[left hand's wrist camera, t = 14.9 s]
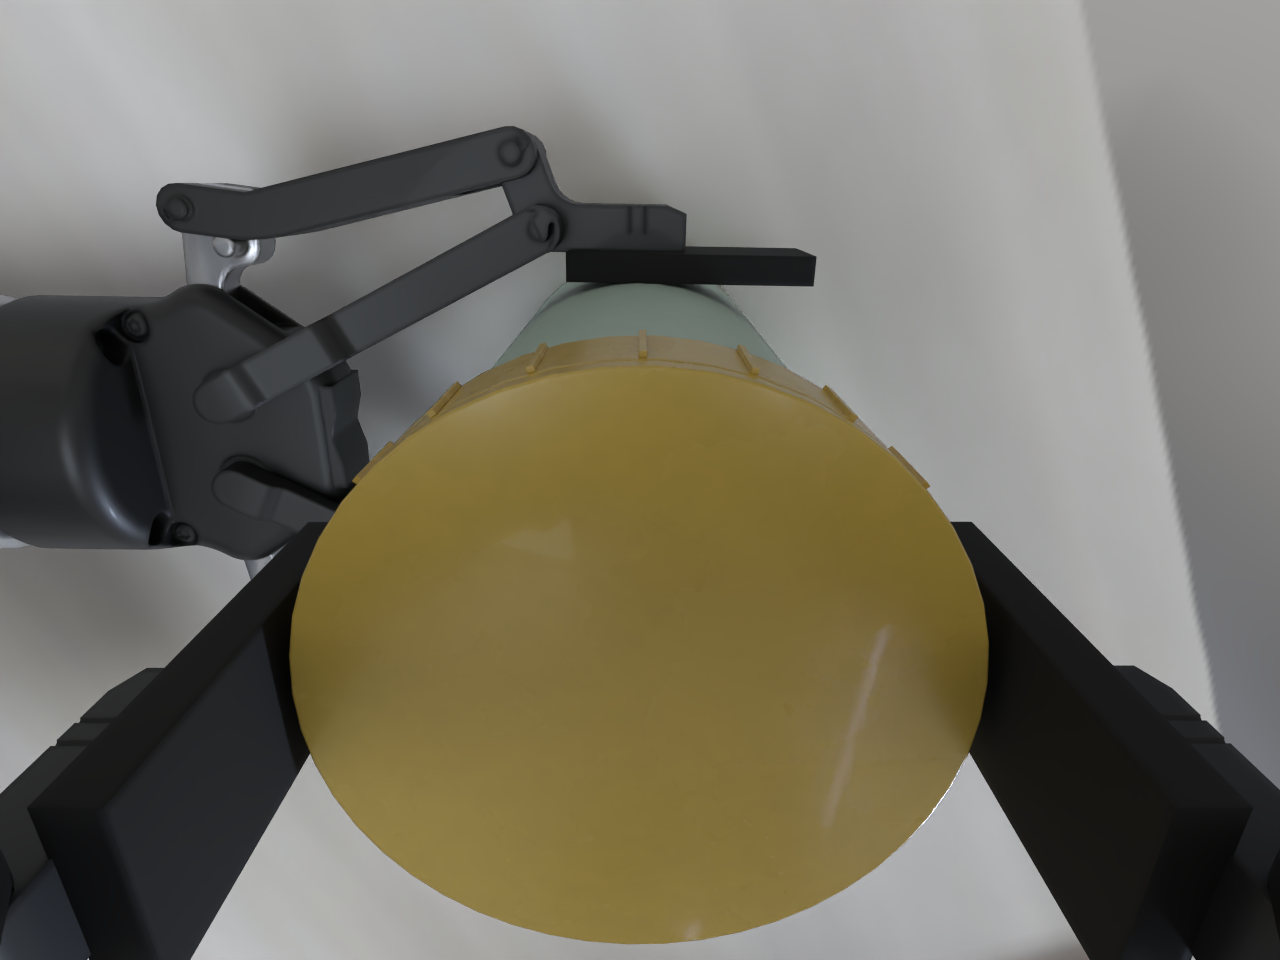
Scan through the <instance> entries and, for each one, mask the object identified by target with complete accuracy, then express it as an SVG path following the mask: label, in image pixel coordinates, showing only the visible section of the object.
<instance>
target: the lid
mask: <svg viewBox="0 0 1280 960" xmlns="http://www.w3.org/2000/svg"><path fill="white" fill-rule="evenodd" d="M352 482H354V483H355V484H357V485H356V486H355V487H354V488H353V489H352V490H351V492H350V493H349V494H348V495H347V496H346V497H345V498H344V499H343V501H342V502H341V503H340V505H339V507H338V508H337V510H336V511H335V513H334V514H333V516H332V518H331V519H330V521H329V522H328V524H327V525H326V527H325V529H324V530H323V532H322V533H321V535H320V536H319V538H318V540H317V543H316V545H315V547H314V550H313V552H312V554H311V557H310V559H309V561H308V563H307V566H306V568H305V570H304V573H303V575H302V578H301V582H300V586H299V590H298V594H297V598H296V602H295V606H294V610H293V614H292V624H291V637H290V649H289V661H290V674H291V686H292V695H293V699H294V703H295V708H296V712H297V716H298V720H299V724H300V728H301V731H302V734H303V736H304V739H305V741H306V744H307V746H308V749H309V751H310V754H311V756H312V758H313V761H314V763H315V765H316V767H317V769H318V771H319V772H320V774H321V776H322V777H323V779H324V781H325V783H326V784H327V786H328V788H329V789H330V791H331V793H332V795H333V796H334V798H335V799H336V800H337V801H338V803H339V804H340V805H341V807H342V808H343V809H344V810H345V812H346V813H347V814H348V816H349V817H350V818H351V820H352V821H353V822H354V823H355V825H356V826H357V827H358V828H359V829H360V830H361V831H362V832H363V833H364V834H365V835H366V836H367V837H368V838H369V839H370V840H371V841H372V842H373V843H374V844H375V845H376V846H377V847H378V848H379V849H380V850H381V851H382V852H383V853H385V854H386V855H387V856H388V857H390V858H391V859H392V860H393V861H395V862H396V863H397V864H398V865H400V866H401V867H402V868H403V869H405V870H406V871H407V872H408V873H410V874H411V875H412V876H414V877H416V878H417V879H419V880H420V881H422V882H424V883H425V884H427V885H428V886H430V887H432V888H433V889H435V890H436V891H438V892H439V893H441V894H443V895H444V896H447V897H449V898H451V899H453V900H455V901H457V902H459V903H461V904H463V905H465V906H467V907H469V908H471V909H473V910H475V911H477V912H480V913H482V914H485V915H488V916H490V917H493V918H496V919H498V920H501V921H504V922H506V923H509V924H512V925H515V926H519V927H523V928H526V929H530V930H534V931H538V932H541V933H545V934H549V935H554V936H560V937H566V938H572V939H578V940H583V941H591V942H604V943H617V944H666V943H675V942H685V941H694V940H703V939H708V938H713V937H718V936H723V935H728V934H733V933H738V932H742V931H745V930H749V929H752V928H756V927H759V926H762V925H766V924H769V923H772V922H776V921H778V920H781V919H783V918H786V917H788V916H791V915H793V914H795V913H798V912H800V911H803V910H805V909H808V908H810V907H812V906H814V905H816V904H818V903H820V902H822V901H824V900H826V899H827V898H829V897H831V896H833V895H835V894H837V893H839V892H841V891H843V890H844V889H846V888H848V887H849V886H850V885H852V884H853V883H855V882H856V881H858V880H859V879H861V878H862V877H864V876H865V875H867V874H868V873H870V872H871V871H873V870H874V869H876V868H877V867H878V866H879V865H880V864H882V863H883V862H884V861H885V860H886V859H887V858H889V857H890V856H891V855H892V854H893V853H895V852H896V851H897V850H898V849H899V848H900V847H902V846H903V845H904V844H905V843H906V842H907V841H908V840H909V839H910V837H911V836H912V835H913V834H914V833H915V832H916V831H917V830H918V829H919V828H920V827H921V826H922V824H923V823H924V822H925V821H926V820H927V819H928V818H929V817H930V816H931V814H932V813H933V811H934V810H935V809H936V807H937V806H938V804H939V803H940V802H941V800H942V799H943V797H944V796H945V795H946V793H947V792H948V790H949V789H950V787H951V786H952V784H953V782H954V780H955V778H956V776H957V774H958V773H959V771H960V769H961V767H962V765H963V763H964V761H965V759H966V757H967V755H968V753H969V751H970V748H971V745H972V742H973V739H974V736H975V734H976V731H977V728H978V725H979V722H980V719H981V715H982V709H983V704H984V699H985V694H986V689H987V683H988V658H989V639H988V632H987V624H986V617H985V609H984V603H983V599H982V596H981V593H980V589H979V586H978V583H977V580H976V576H975V573H974V570H973V566H972V564H971V562H970V560H969V558H968V556H967V553H966V551H965V549H964V547H963V545H962V543H961V541H960V539H959V537H958V535H957V533H956V531H955V529H954V527H953V526H952V524H951V523H950V521H949V520H948V518H947V517H946V516H945V514H944V513H943V511H942V510H941V509H940V507H939V506H938V504H937V503H936V502H935V500H934V499H933V497H932V496H931V494H930V493H929V492H928V490H927V488H929V487H930V485H929V484H928V483H927V481H926V480H925V479H924V478H923V477H922V476H921V475H920V474H919V473H918V472H917V471H916V470H915V469H914V468H913V467H912V466H911V465H910V464H909V463H908V462H907V461H906V460H905V459H904V458H903V456H902V455H901V454H900V453H899V452H898V451H897V450H896V449H895V448H894V447H893V446H891V447H889V448H887V447H886V446H885V445H884V444H883V443H882V442H881V441H880V440H879V438H878V437H877V436H876V435H875V434H874V433H873V432H872V431H871V430H870V429H869V428H868V427H867V426H866V425H865V424H864V423H863V422H862V421H861V420H860V419H859V418H858V416H857V415H856V414H855V413H854V412H853V411H852V410H851V409H850V408H849V407H848V406H847V405H846V404H845V402H844V401H843V400H842V399H841V398H840V397H839V396H838V395H837V394H836V393H835V392H834V391H833V390H832V389H831V388H830V387H829V386H827V385H825V387H824V388H823V389H822V388H820V387H818V386H817V385H815V384H813V383H811V382H810V381H808V380H806V379H804V378H802V377H801V376H799V375H797V374H795V373H794V372H792V371H790V370H788V369H787V368H785V367H782V366H780V365H777V364H775V363H772V362H770V361H767V360H765V359H762V358H760V357H757V356H755V355H752V354H750V353H749V351H748V350H747V348H746V347H745V346H743V345H740V344H738V346H737V349H733V348H729V347H725V346H721V345H717V344H713V343H709V342H705V341H701V340H693V339H684V338H675V337H666V336H657V335H647V332H646V330H639V336H607V337H601V338H594V339H588V340H581V341H574V342H568V343H563V344H560V345H556V346H553V347H549V348H548V345H547V343H546V342H545V343H542V344H540V345H539V346H538V348H537V349H536V351H535V352H532V353H529V354H525V355H522V356H520V357H517V358H515V359H513V360H511V361H508V362H506V363H504V364H502V365H500V366H497V367H495V368H493V369H491V370H488V371H486V372H484V373H482V374H480V375H479V376H477V377H475V378H474V379H472V380H471V381H469V382H467V383H466V384H464V385H462V386H461V385H460V384H459V382H456V383H454V384H453V385H452V386H451V387H450V388H449V389H448V390H447V391H446V392H445V393H444V394H443V395H442V396H441V397H440V399H439V400H438V401H437V402H436V403H435V404H434V405H433V406H432V407H431V408H430V409H429V410H428V411H427V412H426V413H425V414H424V415H423V416H421V417H420V418H419V419H418V420H417V421H416V422H414V424H413V425H412V426H411V427H410V428H409V429H408V430H407V431H406V432H405V433H404V434H403V435H402V436H401V437H400V438H399V439H398V440H397V441H396V442H395V444H393V443H392V442H391V441H390V442H389V443H388V444H387V445H386V446H385V447H384V448H383V449H382V450H381V451H380V452H379V453H378V454H377V455H376V456H375V457H374V458H373V459H372V460H371V461H370V462H369V463H368V464H367V465H366V466H365V467H364V468H363V469H362V470H361V471H360V472H359V473H358V474H357V475H356V476H355V478H354V479H353V480H352Z"/></svg>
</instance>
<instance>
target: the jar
mask: <svg viewBox="0 0 1280 960" xmlns="http://www.w3.org/2000/svg"><path fill="white" fill-rule="evenodd" d="M639 330H646V332H647V335H657V336H666V337H675V338H684V339H693V340H701V341H705V342H709V343H713V344H717V345H721V346H725V347H729V348H733V349H737V346H738V344H740V345H743V346H745V347H746V348H747V350H748V351H749V353H750V354H752V355H755V356H757V357H760V358H762V359H765V360H767V361H770V362H772V363H775V364H777V365H780V366H782V367H785V368H786V366H785V365H784V364H783V363H782V361H781V360H780V359H779V358H778V356H777V355H776V354H775V353H774V351H773V350H772V349H771V348H770V347H769V345H768V344H767V343H766V342H765V340H764V339H763V338H762V337H761V335H760V334H759V333H758V332H757V330H756V329H755V328H754V327H753V325H752V324H751V323H750V322H749V320H748V319H747V318H746V317H745V315H744V314H743V313H742V312H741V310H740V309H739V308H738V307H737V306H736V304H735V303H734V302H733V301H732V300H731V298H730V297H729V296H728V295H727V294H726V293H725V292H724V291H723V290H722V289H721V288H719V287H718V286H717V285H702V284H643V283H583V282H566V283H565V284H563V285H562V286H561V287H560V288H559V289H557V290H556V291H555V292H554V293H553V294H552V295H551V296H550V297H549V298H548V300H547V301H546V302H545V303H544V305H543V306H542V307H541V308H540V309H539V311H538V312H537V313H536V314H535V316H534V317H533V318H532V319H531V321H530V322H529V323H528V324H527V326H526V327H525V328H524V329H523V330H522V332H521V333H520V334H519V335H518V337H517V338H516V339H515V340H514V342H513V343H512V344H511V345H510V347H509V348H508V349H507V350H506V351H505V353H504V354H503V355H502V356H501V358H500V359H499V360H498V361H497V363H496V364H495V365H494V366H493V368H495V367H497V366H500V365H502V364H504V363H506V362H508V361H511V360H513V359H515V358H517V357H520V356H522V355H525V354H529V353H532V352H535V351H536V349H537V348H538V346H539V345H540V344H542V343H545V342H546V343H547V345H548V348H549V347H553V346H556V345H560V344H563V343H568V342H574V341H581V340H588V339H594V338H601V337H607V336H639ZM493 368H492V369H493Z"/></svg>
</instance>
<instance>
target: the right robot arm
mask: <svg viewBox="0 0 1280 960" xmlns="http://www.w3.org/2000/svg"><path fill="white" fill-rule="evenodd" d="M500 186H502V187H503V189H504V192H505V195H506V197H507V200H508V202H509V205H510V208H511V210H512V213H513V215H512V216H510V217H509V218H507V219H505V220H503V221H501V222H499V223H498V224H496V225H494V226H492V227H490V228H488V229H487V230H485V231H483V232H481V233H479V234H477V235H476V236H474V237H472V238H470V239H468V240H466V241H465V242H463V243H461V244H459V245H457V246H455V247H454V248H452V249H450V250H448V251H446V252H444V253H443V254H441V255H439V256H437V257H435V258H433V259H432V260H430V261H428V262H426V263H424V264H422V265H421V266H419V267H417V268H415V269H413V270H411V271H410V272H408V273H406V274H404V275H402V276H400V277H399V278H397V279H395V280H393V281H391V282H389V283H388V284H386V285H384V286H382V287H380V288H378V289H377V290H375V291H373V292H371V293H369V294H367V295H366V296H364V297H362V298H360V299H358V300H356V301H355V302H353V303H351V304H349V305H347V306H345V307H344V308H342V309H340V310H338V311H336V312H334V313H333V314H331V315H329V316H327V317H325V318H323V319H321V320H319V321H317V322H315V323H313V324H311V325H309V326H307V327H303V326H302V325H300V324H299V323H297V322H296V321H294V320H293V319H291V318H290V317H288V316H287V315H285V314H284V313H282V312H281V311H279V310H278V309H276V308H275V307H273V306H272V305H270V304H269V303H267V302H266V301H264V300H263V299H261V298H260V297H258V296H257V295H255V294H254V293H252V292H251V291H249V290H248V289H246V288H245V287H243V286H241V285H240V277H241V274H242V272H243V271H244V270H245V268H246V267H248V266H250V265H255V264H260V263H264V262H266V261H268V260H269V259H270V258H271V257H272V256H273V253H274V251H275V244H276V239H275V238H277V237H284V236H291V235H298V234H305V233H311V232H316V231H321V230H325V229H329V228H333V227H337V226H342V225H346V224H350V223H354V222H358V221H362V220H366V219H370V218H374V217H378V216H382V215H386V214H390V213H394V212H398V211H402V210H407V209H411V208H415V207H419V206H423V205H427V204H431V203H435V202H439V201H443V200H447V199H451V198H455V197H459V196H463V195H467V194H472V193H476V192H480V191H484V190H488V189H492V188H496V187H500ZM156 206H157V210H158V213H159V216H160V217H161V218H162V220H163V221H164V223H165V224H166V225H168V226H169V227H170V228H172V229H173V230H176V231H179V232H182V237H183V247H184V257H185V268H186V278H187V285H186V286H184V287H181V288H179V289H177V290H176V291H174V292H173V293H171V294H170V295H168V296H166V297H110V296H50V295H38V296H28V297H24V298H15V297H10V296H5V295H0V548H21V547H26V546H32V545H33V546H37V547H44V548H74V549H143V550H147V549H163V548H172V547H180V546H190V545H200V546H205V547H209V548H213V549H216V550H218V551H221V552H223V553H225V554H227V555H229V556H231V557H234V558H237V559H241V560H244V561H245V564H246V567H247V570H248V573H249V576H250V579H251V580H252V579H253V578H254V577H255V576H256V575H257V574H258V573H259V572H260V571H261V569H262V568H263V567H264V566H265V565H266V564H267V563H268V562H269V561H270V560H271V559H272V558H273V557H274V556H275V555H276V554H277V553H278V552H279V551H280V550H281V549H282V548H283V547H284V546H285V545H286V544H287V543H288V542H289V541H290V540H291V539H292V538H293V537H294V536H295V535H296V534H297V533H298V532H299V531H300V530H301V529H302V528H303V527H304V526H305V525H306V524H307V523H308V522H329V521H330V519H331V518H332V516H333V514H334V513H335V511H336V510H337V508H338V507H339V505H340V503H341V502H342V501H343V499H344V498H345V497H346V496H347V495H348V494H349V493H350V492H351V490H352V489H353V488H354V487H355V486H356V485H357V484H355V483H354V482H352V480H353V479H354V478H355V476H356V475H357V474H358V473H359V472H360V471H361V470H362V469H363V468H364V467H365V466H366V465H367V464H368V463H369V462H370V461H369V454H368V446H367V441H366V438H365V436H364V433H363V431H362V429H361V426H360V424H359V421H358V409H359V403H360V396H361V392H360V384H359V376H358V370H350V367H349V365H348V364H347V362H346V360H347V359H348V358H350V357H352V356H354V355H356V354H358V353H359V352H361V351H363V350H365V349H367V348H369V347H371V346H373V345H374V344H376V343H378V342H380V341H382V340H384V339H386V338H388V337H390V336H391V335H393V334H395V333H397V332H399V331H401V330H403V329H405V328H406V327H408V326H410V325H412V324H414V323H416V322H418V321H420V320H422V319H423V318H425V317H427V316H429V315H431V314H433V313H435V312H437V311H439V310H440V309H442V308H444V307H446V306H448V305H450V304H452V303H454V302H455V301H457V300H459V299H461V298H463V297H465V296H467V295H469V294H471V293H472V292H474V291H476V290H478V289H480V288H482V287H484V286H486V285H487V284H489V283H491V282H493V281H495V280H497V279H499V278H501V277H503V276H504V275H506V274H508V273H510V272H512V271H514V270H516V269H518V268H519V267H521V266H523V265H525V264H527V263H529V262H531V261H533V260H535V259H536V258H538V257H540V256H542V255H544V254H546V253H549V252H566V282H583V283H643V284H702V285H762V286H814V276H815V266H816V256H813V255H811V254H808V253H806V252H804V251H801V250H799V249H796V248H742V247H685V240H686V214H685V213H684V212H681V211H679V210H677V209H675V208H672V207H670V206H668V205H662V204H605V203H579V202H575V201H572V200H570V199H568V198H567V197H566V196H564V195H563V194H562V192H561V191H560V190H559V188H558V186H557V184H556V182H555V180H554V177H553V174H552V171H551V168H550V166H549V163H548V160H547V157H546V150H545V148H544V146H543V143H542V142H541V141H540V140H539V139H538V138H537V137H536V136H534V135H532V134H530V133H529V132H527V131H524V130H522V129H519V128H517V127H514V126H506V127H501V128H497V129H493V130H489V131H485V132H481V133H477V134H473V135H469V136H465V137H461V138H457V139H453V140H449V141H445V142H441V143H437V144H433V145H429V146H425V147H422V148H418V149H414V150H410V151H406V152H402V153H398V154H394V155H390V156H386V157H382V158H378V159H374V160H370V161H366V162H362V163H358V164H354V165H350V166H346V167H342V168H339V169H335V170H331V171H327V172H323V173H319V174H315V175H311V176H307V177H303V178H299V179H295V180H291V181H287V182H283V183H279V184H275V185H271V186H267V187H263V188H258V187H250V186H243V185H236V184H228V183H173V184H167V185H166V186H164V187H163V188H161V190H160V191H159V193H158V195H157V201H156Z"/></svg>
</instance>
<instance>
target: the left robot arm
mask: <svg viewBox="0 0 1280 960" xmlns="http://www.w3.org/2000/svg"><path fill="white" fill-rule="evenodd" d="M950 523H951V524H952V526H953V527H954V529H955V531H956V533H957V535H958V537H959V539H960V541H961V543H962V545H963V547H964V549H965V551H966V553H967V556H968V558H969V560H970V562H971V564H972V566H973V570H974V573H975V576H976V580H977V583H978V586H979V589H980V593H981V596H982V599H983V603H984V609H985V617H986V624H987V632H988V639H989V658H988V683H987V689H986V694H985V699H984V704H983V709H982V715H981V719H980V722H979V725H978V728H977V731H976V734H975V736H974V739H973V742H972V745H971V748H970V751H969V753H970V754H971V756H972V758H973V759H974V761H975V763H976V765H977V766H978V768H979V770H980V771H981V773H982V775H983V777H984V778H985V780H986V782H987V783H988V785H989V787H990V789H991V790H992V792H993V794H994V796H995V797H996V799H997V801H998V802H999V804H1000V806H1001V808H1002V809H1003V811H1004V813H1005V814H1006V816H1007V818H1008V820H1009V821H1010V823H1011V825H1012V827H1013V828H1014V830H1015V832H1016V833H1017V835H1018V837H1019V839H1020V840H1021V842H1022V844H1023V845H1024V847H1025V849H1026V851H1027V852H1028V854H1029V856H1030V858H1031V859H1032V861H1033V863H1034V864H1035V866H1036V868H1037V870H1038V871H1039V873H1040V875H1041V876H1042V878H1043V880H1044V882H1045V883H1046V885H1047V887H1048V888H1049V890H1050V892H1051V894H1052V895H1053V897H1054V899H1055V901H1056V902H1057V904H1058V906H1059V907H1060V909H1061V911H1062V913H1063V914H1064V916H1065V918H1066V919H1067V921H1068V923H1069V925H1070V926H1071V928H1072V930H1073V932H1074V933H1075V935H1076V937H1077V938H1078V940H1079V942H1080V944H1081V945H1082V947H1083V949H1084V950H1085V952H1086V954H1087V956H1088V957H1089V959H1090V960H1191V958H1192V955H1193V956H1194V958H1195V959H1196V960H1280V790H1279V789H1278V788H1277V787H1276V786H1275V785H1274V784H1273V783H1272V782H1271V781H1270V780H1269V779H1267V778H1266V777H1265V776H1264V775H1263V774H1262V773H1261V772H1260V771H1259V770H1258V769H1257V768H1256V767H1255V766H1254V765H1253V764H1252V763H1251V762H1250V761H1248V760H1247V759H1246V758H1245V757H1244V756H1243V755H1242V754H1241V753H1240V752H1239V751H1238V750H1237V749H1236V748H1235V747H1234V746H1233V745H1232V744H1226V743H1225V741H1224V737H1223V736H1222V735H1221V734H1220V733H1219V732H1218V731H1217V730H1216V729H1215V728H1214V727H1213V726H1211V725H1210V724H1209V723H1208V722H1207V721H1202V720H1201V718H1200V716H1201V715H1200V714H1199V713H1198V712H1197V711H1196V710H1195V709H1193V708H1192V707H1191V706H1190V705H1189V704H1188V703H1187V702H1186V701H1185V700H1184V699H1183V698H1182V697H1181V696H1180V695H1179V694H1178V693H1177V692H1175V691H1174V690H1173V689H1172V688H1171V687H1169V686H1167V685H1166V684H1164V683H1162V682H1161V681H1159V680H1157V679H1155V678H1154V677H1152V676H1150V675H1149V674H1147V673H1145V672H1144V671H1142V670H1140V669H1139V668H1137V667H1135V666H1113V665H1112V664H1111V663H1110V662H1109V661H1108V660H1107V659H1106V658H1105V657H1104V656H1103V655H1102V654H1101V653H1100V652H1099V651H1098V650H1097V649H1096V648H1095V647H1094V646H1093V645H1092V644H1091V643H1090V642H1089V641H1088V640H1087V638H1086V637H1085V636H1084V635H1083V634H1082V633H1081V632H1080V631H1079V630H1078V629H1077V628H1076V627H1075V626H1074V625H1073V624H1072V623H1071V622H1070V621H1069V620H1068V619H1067V618H1066V617H1065V616H1064V615H1063V614H1062V613H1061V612H1060V611H1059V610H1058V609H1057V608H1056V607H1055V606H1054V605H1053V604H1052V603H1051V602H1050V601H1049V600H1048V599H1047V598H1046V597H1045V596H1044V595H1043V594H1042V593H1041V592H1040V591H1039V590H1038V589H1037V588H1036V587H1035V586H1034V585H1033V584H1032V583H1031V582H1030V581H1029V580H1028V579H1027V578H1026V577H1025V576H1024V575H1023V574H1022V573H1021V572H1020V570H1019V569H1018V568H1017V567H1016V566H1015V565H1014V564H1013V563H1012V562H1011V561H1010V560H1009V559H1008V558H1007V557H1006V556H1005V555H1004V554H1003V553H1002V552H1001V551H1000V550H999V549H998V548H997V547H996V546H995V545H994V544H993V543H992V542H991V541H990V540H989V539H988V538H987V537H986V536H985V535H984V534H983V533H982V532H981V531H980V530H979V529H978V528H977V527H976V526H975V525H974V524H973V523H972V522H950ZM327 524H328V522H308V523H307V524H306V525H305V526H304V527H303V528H302V529H301V530H300V531H299V532H298V533H297V534H296V535H295V536H294V537H293V538H292V539H291V540H290V541H289V542H288V543H287V544H286V545H285V546H284V547H283V548H282V549H281V550H280V551H279V552H278V553H277V554H276V555H275V556H274V557H273V558H272V559H271V560H270V561H269V562H268V563H267V564H266V565H265V566H264V567H263V568H262V569H261V571H260V572H259V573H258V574H257V575H256V576H255V577H254V578H253V579H252V580H251V581H250V582H249V583H248V584H247V585H246V586H245V587H244V588H243V589H242V590H241V591H240V592H239V593H238V594H237V595H236V596H235V597H234V598H233V599H232V600H231V601H230V602H229V603H228V604H227V605H226V606H225V607H224V608H223V609H222V610H221V611H220V612H219V613H218V614H217V615H216V616H215V617H214V618H213V619H212V620H211V621H210V622H209V623H208V624H207V625H206V626H205V627H204V628H203V629H202V630H201V631H200V632H199V633H198V634H197V635H196V636H195V638H194V639H193V640H192V641H191V642H190V643H189V644H188V645H187V646H186V647H185V648H184V649H183V650H182V651H181V652H180V653H179V654H178V655H177V656H176V657H175V658H174V659H173V660H172V661H171V662H170V663H169V664H168V665H167V666H166V667H165V668H146V669H144V670H143V671H141V672H139V673H138V674H136V675H134V676H133V677H131V678H129V679H128V680H126V681H124V682H123V683H121V684H119V685H118V686H116V687H114V688H113V689H111V690H109V691H108V692H107V693H106V694H105V695H104V696H103V697H102V698H101V699H100V700H98V701H97V702H96V703H95V704H94V705H93V706H92V707H91V708H90V709H89V710H88V711H87V712H86V713H85V714H84V715H83V716H82V717H81V718H80V722H79V723H74V724H73V725H72V726H71V727H70V728H69V729H68V730H67V731H66V732H65V733H64V734H63V735H62V736H61V737H60V738H59V739H57V744H56V746H50V747H49V748H48V749H47V750H46V751H45V752H44V753H43V754H42V755H41V756H40V757H39V758H38V759H36V760H35V761H34V762H33V763H32V764H31V765H30V766H29V767H28V768H27V769H26V770H25V771H24V772H23V773H22V774H21V775H20V776H19V777H18V778H17V779H15V780H14V781H13V782H12V783H11V784H10V785H9V786H8V787H7V788H6V789H5V790H4V791H3V792H2V793H1V794H0V960H87V959H88V958H89V960H190V959H191V957H192V956H193V954H194V952H195V951H196V949H197V947H198V945H199V944H200V942H201V940H202V938H203V937H204V935H205V933H206V932H207V930H208V928H209V926H210V925H211V923H212V921H213V920H214V918H215V916H216V914H217V913H218V911H219V909H220V907H221V906H222V904H223V902H224V901H225V899H226V897H227V895H228V894H229V892H230V890H231V889H232V887H233V885H234V883H235V882H236V880H237V878H238V876H239V875H240V873H241V871H242V870H243V868H244V866H245V864H246V863H247V861H248V859H249V858H250V856H251V854H252V852H253V851H254V849H255V847H256V845H257V844H258V842H259V840H260V839H261V837H262V835H263V833H264V832H265V830H266V828H267V827H268V825H269V823H270V821H271V820H272V818H273V816H274V815H275V813H276V811H277V809H278V808H279V806H280V804H281V802H282V801H283V799H284V797H285V796H286V794H287V792H288V790H289V789H290V787H291V785H292V784H293V782H294V780H295V778H296V777H297V775H298V773H299V771H300V770H301V768H302V766H303V765H304V763H305V761H306V759H307V758H308V756H309V754H310V751H309V749H308V746H307V744H306V741H305V739H304V736H303V734H302V731H301V728H300V724H299V720H298V716H297V712H296V708H295V703H294V699H293V695H292V686H291V674H290V661H289V649H290V637H291V624H292V614H293V610H294V606H295V602H296V598H297V594H298V590H299V586H300V582H301V578H302V575H303V573H304V570H305V568H306V566H307V563H308V561H309V559H310V557H311V554H312V552H313V550H314V547H315V545H316V543H317V540H318V538H319V536H320V535H321V533H322V532H323V530H324V529H325V527H326V525H327Z"/></svg>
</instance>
